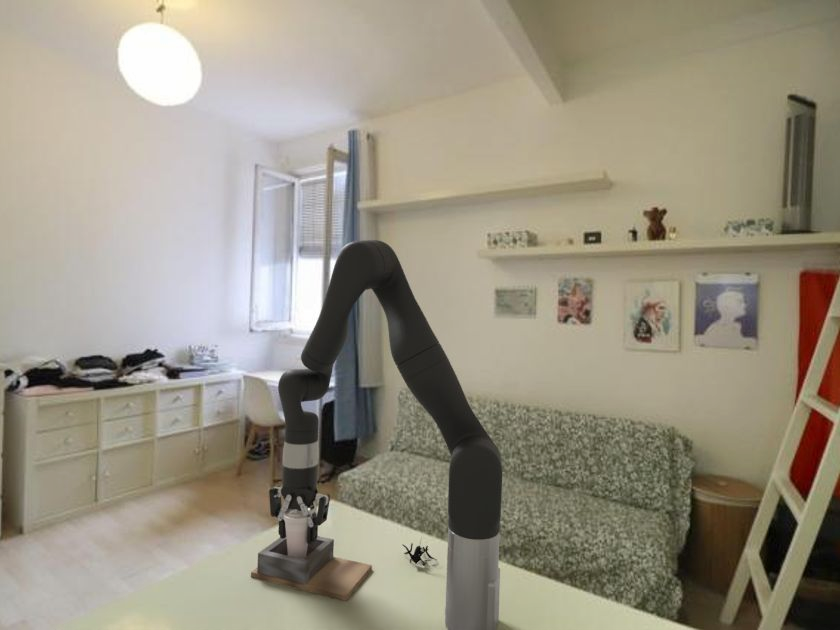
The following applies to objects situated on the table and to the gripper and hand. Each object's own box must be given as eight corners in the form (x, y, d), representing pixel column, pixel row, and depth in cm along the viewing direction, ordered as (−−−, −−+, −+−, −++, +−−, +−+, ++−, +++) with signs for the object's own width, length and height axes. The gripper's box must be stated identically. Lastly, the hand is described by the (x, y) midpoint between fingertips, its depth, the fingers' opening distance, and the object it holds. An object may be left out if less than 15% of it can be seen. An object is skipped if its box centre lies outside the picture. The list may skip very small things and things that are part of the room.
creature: (407, 555, 109) (396, 564, 102) (409, 531, 111) (398, 538, 103) (439, 562, 107) (430, 571, 100) (441, 537, 108) (432, 544, 101)
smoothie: (279, 553, 101) (282, 489, 101) (308, 548, 104) (311, 485, 104) (284, 568, 95) (286, 499, 95) (315, 562, 98) (317, 496, 98)
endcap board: (371, 569, 100) (372, 546, 100) (346, 600, 89) (346, 574, 89) (285, 550, 107) (285, 528, 107) (250, 576, 96) (251, 552, 96)
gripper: (338, 461, 101) (335, 538, 101) (282, 452, 106) (279, 526, 105) (321, 471, 94) (317, 554, 94) (261, 462, 98) (258, 541, 98)
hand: (297, 539), depth 99 cm, fingers closed on smoothie, 6 cm apart
